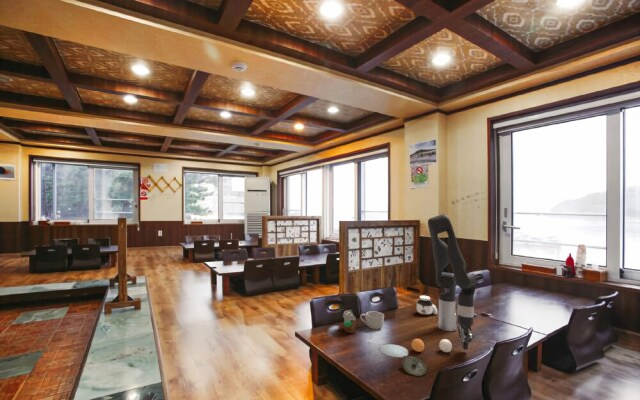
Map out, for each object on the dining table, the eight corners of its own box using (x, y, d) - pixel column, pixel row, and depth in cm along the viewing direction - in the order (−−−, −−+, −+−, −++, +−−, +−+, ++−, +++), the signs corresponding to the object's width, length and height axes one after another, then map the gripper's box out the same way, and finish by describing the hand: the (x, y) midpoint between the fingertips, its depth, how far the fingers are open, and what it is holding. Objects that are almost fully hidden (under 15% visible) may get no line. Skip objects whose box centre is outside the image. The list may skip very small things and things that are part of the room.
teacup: (384, 325, 190) (385, 312, 190) (382, 332, 180) (382, 318, 180) (362, 322, 195) (362, 309, 195) (358, 328, 185) (358, 314, 185)
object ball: (421, 348, 160) (421, 336, 160) (425, 354, 154) (426, 341, 154) (409, 348, 160) (410, 336, 160) (413, 353, 154) (414, 341, 154)
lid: (421, 365, 143) (422, 354, 143) (430, 377, 133) (430, 365, 133) (398, 365, 143) (399, 353, 143) (405, 376, 133) (405, 364, 133)
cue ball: (448, 349, 160) (448, 337, 161) (454, 354, 154) (454, 342, 155) (437, 348, 160) (437, 337, 160) (442, 354, 154) (442, 342, 154)
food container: (341, 326, 187) (341, 309, 187) (351, 326, 187) (351, 309, 188) (344, 335, 175) (345, 316, 175) (355, 334, 175) (355, 316, 175)
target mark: (403, 344, 164) (403, 344, 164) (412, 357, 150) (412, 357, 150) (377, 344, 163) (377, 344, 163) (383, 357, 149) (383, 356, 149)
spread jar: (414, 313, 215) (415, 296, 215) (423, 310, 223) (423, 293, 223) (431, 318, 206) (431, 300, 207) (439, 314, 214) (439, 297, 214)
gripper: (479, 318, 152) (479, 355, 151) (466, 310, 165) (465, 343, 164) (464, 318, 151) (463, 354, 151) (452, 309, 165) (451, 343, 164)
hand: (464, 348), depth 158 cm, fingers closed
